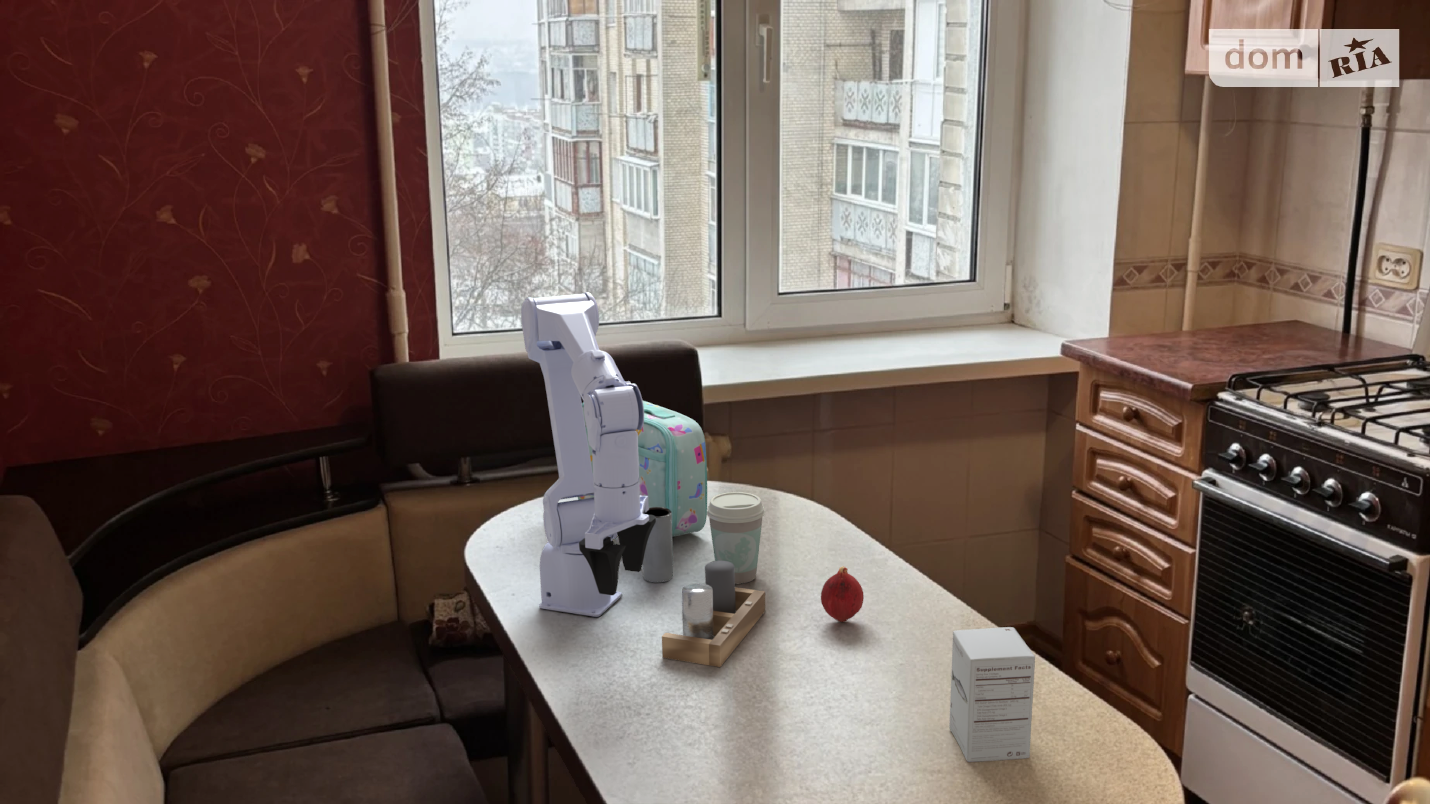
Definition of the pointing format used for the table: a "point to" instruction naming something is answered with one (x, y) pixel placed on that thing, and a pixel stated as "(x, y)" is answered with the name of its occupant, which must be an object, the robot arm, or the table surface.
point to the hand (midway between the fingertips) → (620, 581)
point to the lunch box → (672, 466)
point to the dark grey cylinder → (721, 585)
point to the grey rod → (697, 611)
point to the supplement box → (991, 694)
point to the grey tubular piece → (659, 547)
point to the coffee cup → (737, 531)
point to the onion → (842, 596)
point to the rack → (718, 632)
